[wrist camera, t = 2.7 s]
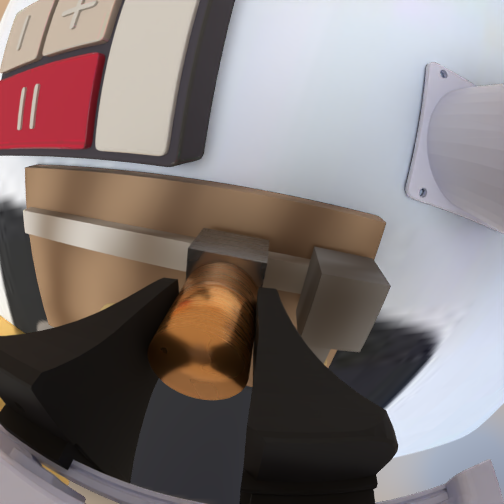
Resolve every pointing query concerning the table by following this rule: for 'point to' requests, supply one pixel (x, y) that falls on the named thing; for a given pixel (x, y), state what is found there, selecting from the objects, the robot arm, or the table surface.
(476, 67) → the table surface
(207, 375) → the slider leg
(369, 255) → the board
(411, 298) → the table surface
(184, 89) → the button panel
